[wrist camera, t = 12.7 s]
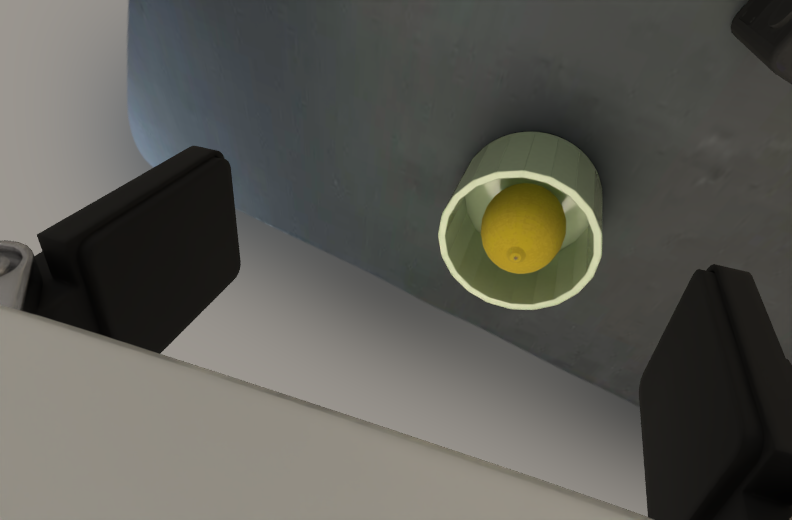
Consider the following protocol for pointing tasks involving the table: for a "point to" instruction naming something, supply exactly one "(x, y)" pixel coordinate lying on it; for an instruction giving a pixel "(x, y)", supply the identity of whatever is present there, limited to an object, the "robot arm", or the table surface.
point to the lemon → (523, 228)
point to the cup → (515, 164)
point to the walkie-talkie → (767, 33)
